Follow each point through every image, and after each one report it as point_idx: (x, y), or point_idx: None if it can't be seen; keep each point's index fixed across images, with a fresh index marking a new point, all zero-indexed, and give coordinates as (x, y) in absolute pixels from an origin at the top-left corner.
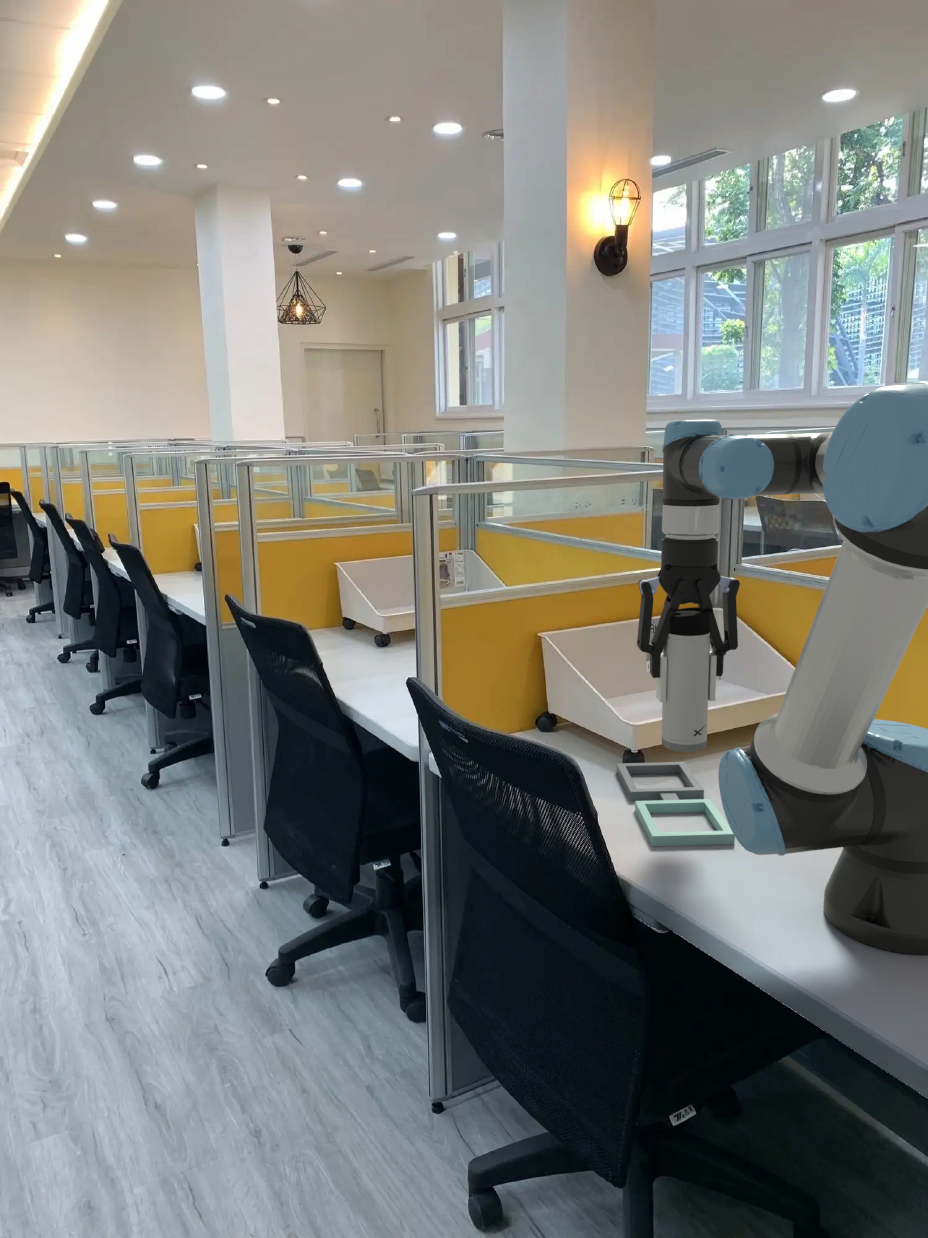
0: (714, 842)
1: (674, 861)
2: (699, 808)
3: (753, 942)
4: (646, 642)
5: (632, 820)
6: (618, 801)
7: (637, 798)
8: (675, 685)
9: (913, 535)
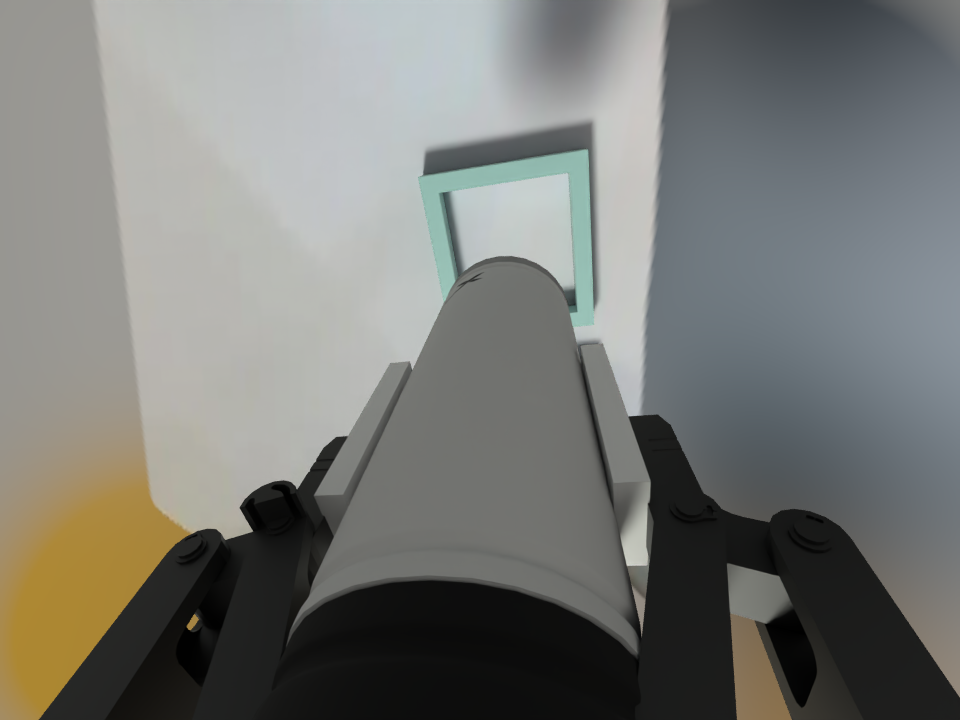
0: (459, 169)
1: (550, 74)
2: None
3: None
4: (821, 576)
5: (604, 273)
6: (615, 354)
7: (580, 359)
8: (551, 361)
9: None
